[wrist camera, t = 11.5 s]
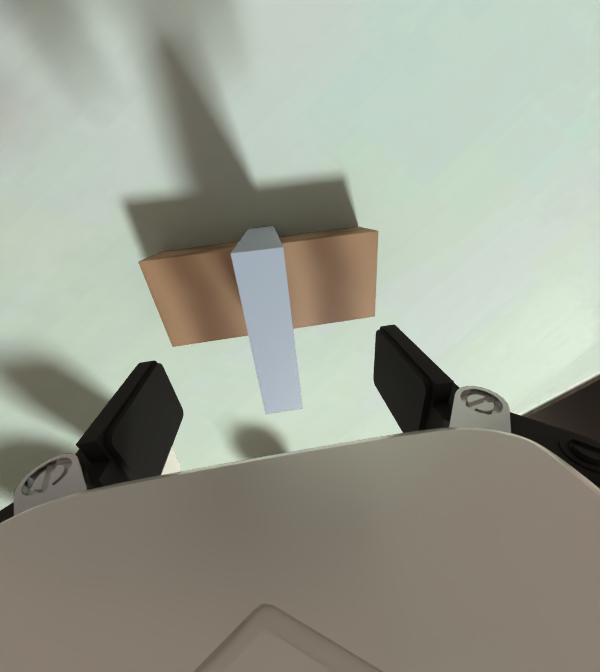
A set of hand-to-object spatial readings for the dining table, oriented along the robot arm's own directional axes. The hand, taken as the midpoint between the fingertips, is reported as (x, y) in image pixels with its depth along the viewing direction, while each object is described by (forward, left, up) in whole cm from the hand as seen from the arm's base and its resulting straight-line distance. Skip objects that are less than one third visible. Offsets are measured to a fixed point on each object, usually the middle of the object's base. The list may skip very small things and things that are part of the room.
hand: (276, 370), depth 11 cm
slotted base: (0, 0, -18) cm, 18 cm away
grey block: (0, 0, -17) cm, 17 cm away
